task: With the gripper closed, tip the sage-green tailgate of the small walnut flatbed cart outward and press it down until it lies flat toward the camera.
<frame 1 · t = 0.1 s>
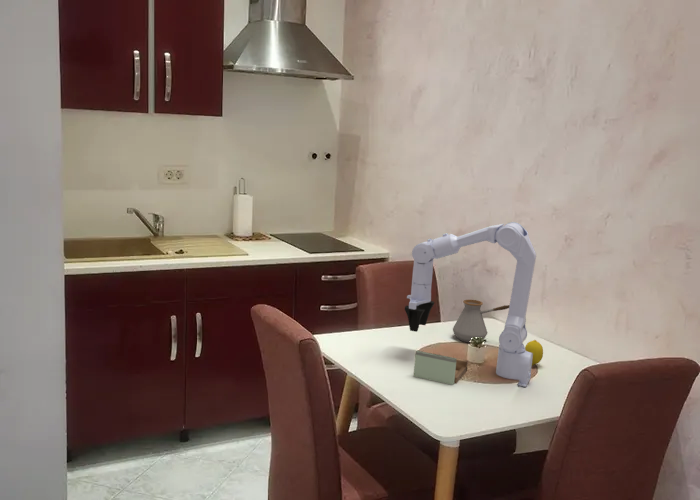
hand: (417, 327, 195), 10 cm above the table, fingers open, 7 cm apart
lemon: (531, 366, 199), on the table
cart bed: (440, 377, 184), on the table
coffee pot: (483, 342, 219), on the table
tailgate: (434, 367, 177), point 5 cm above the table, hinge at 0.0°
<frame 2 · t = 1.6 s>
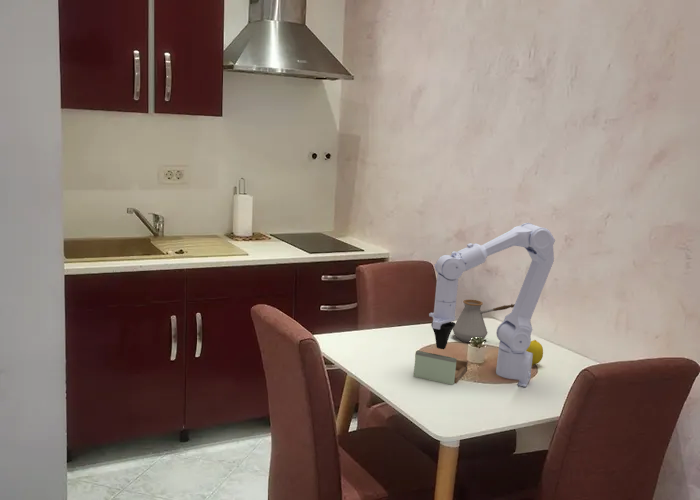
hand: (441, 348, 180), 9 cm above the table, fingers closed
nothing on the table moved.
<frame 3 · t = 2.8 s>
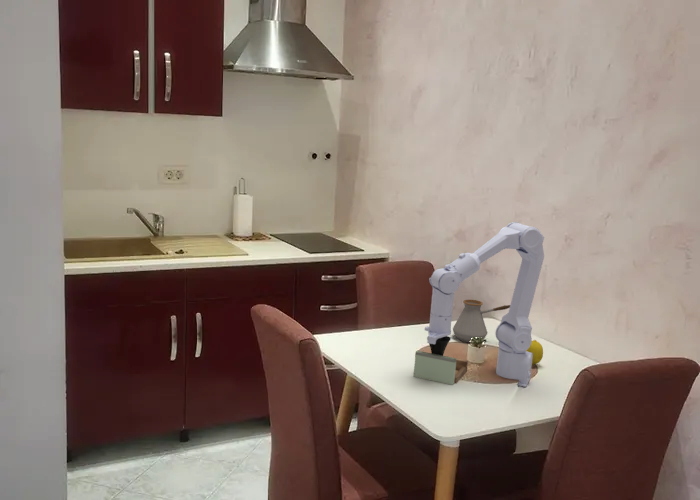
hand: (436, 362, 178), 6 cm above the table, fingers closed, pressing on tailgate
tailgate: (434, 367, 177), point 5 cm above the table, hinge at 0.3°, touching gripper
everything else where it was.
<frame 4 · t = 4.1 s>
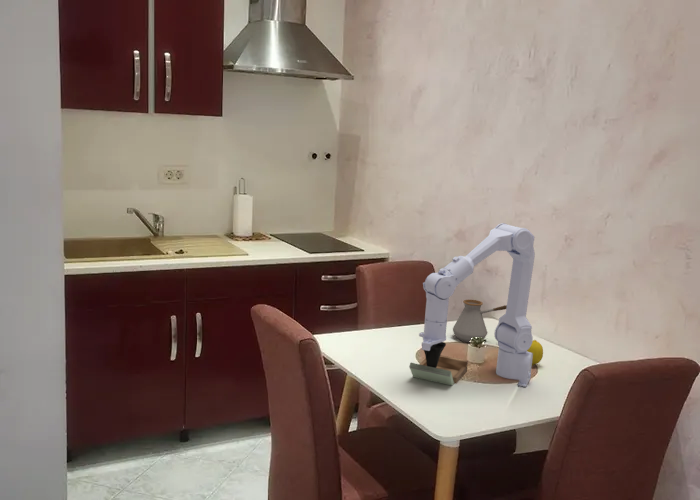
hand: (431, 369, 174), 6 cm above the table, fingers closed, pressing on tailgate
tailgate: (431, 375, 175), point 4 cm above the table, hinge at 44.3°, touching gripper
everything else where it was.
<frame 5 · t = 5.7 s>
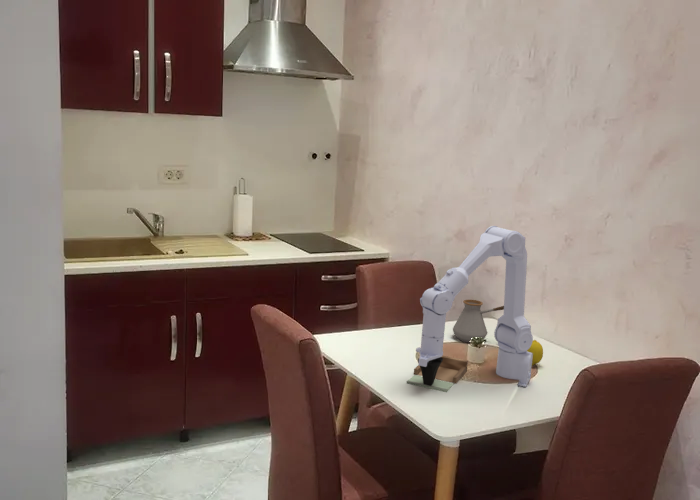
hand: (428, 384, 173), 2 cm above the table, fingers closed, pressing on tailgate
tailgate: (430, 384, 175), point 1 cm above the table, hinge at 85.9°, touching gripper
everything else where it was.
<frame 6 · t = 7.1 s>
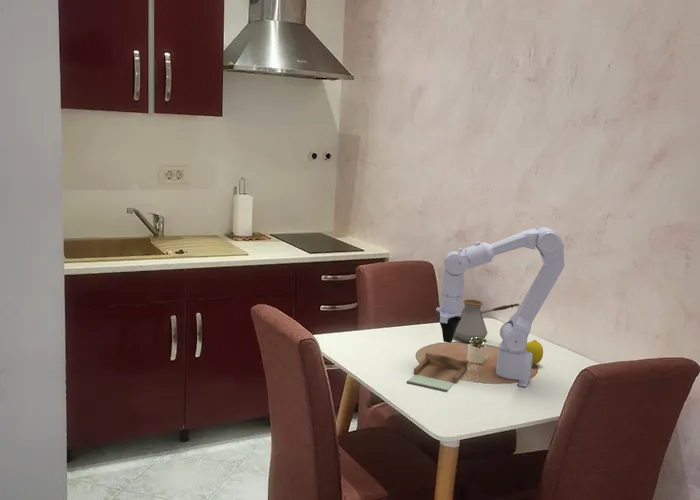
hand: (447, 341, 186), 9 cm above the table, fingers closed
tailgate: (430, 384, 175), point 1 cm above the table, hinge at 86.0°
everything else where it was.
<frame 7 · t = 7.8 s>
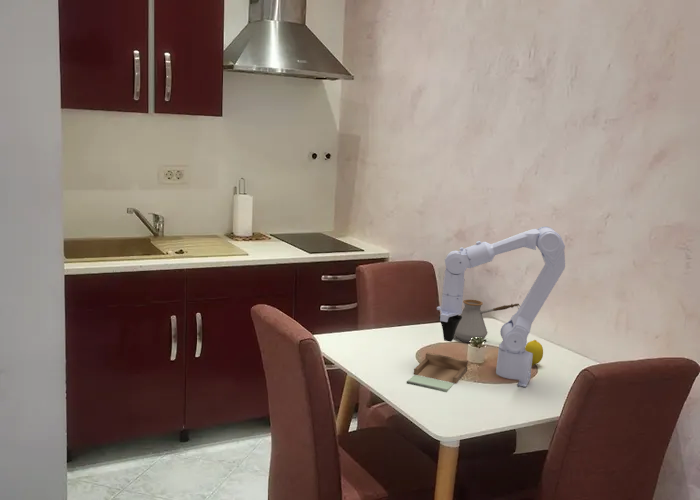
hand: (448, 340, 187), 9 cm above the table, fingers closed
nothing on the table moved.
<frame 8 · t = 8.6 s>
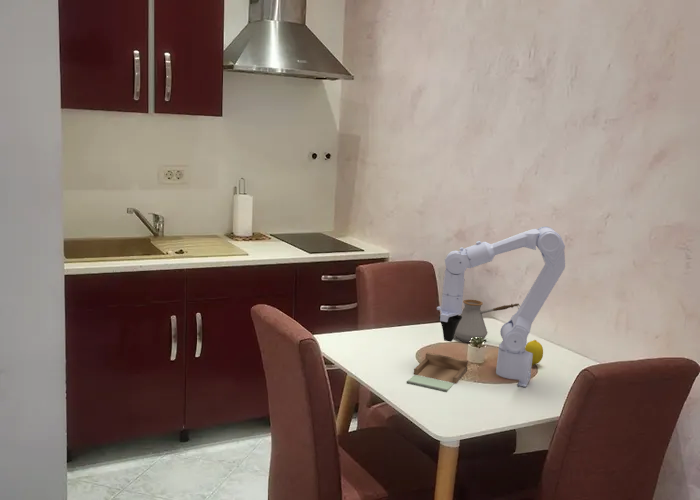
hand: (448, 340, 187), 9 cm above the table, fingers closed
nothing on the table moved.
at the end: tailgate at +86° (first picture: +0°) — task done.
